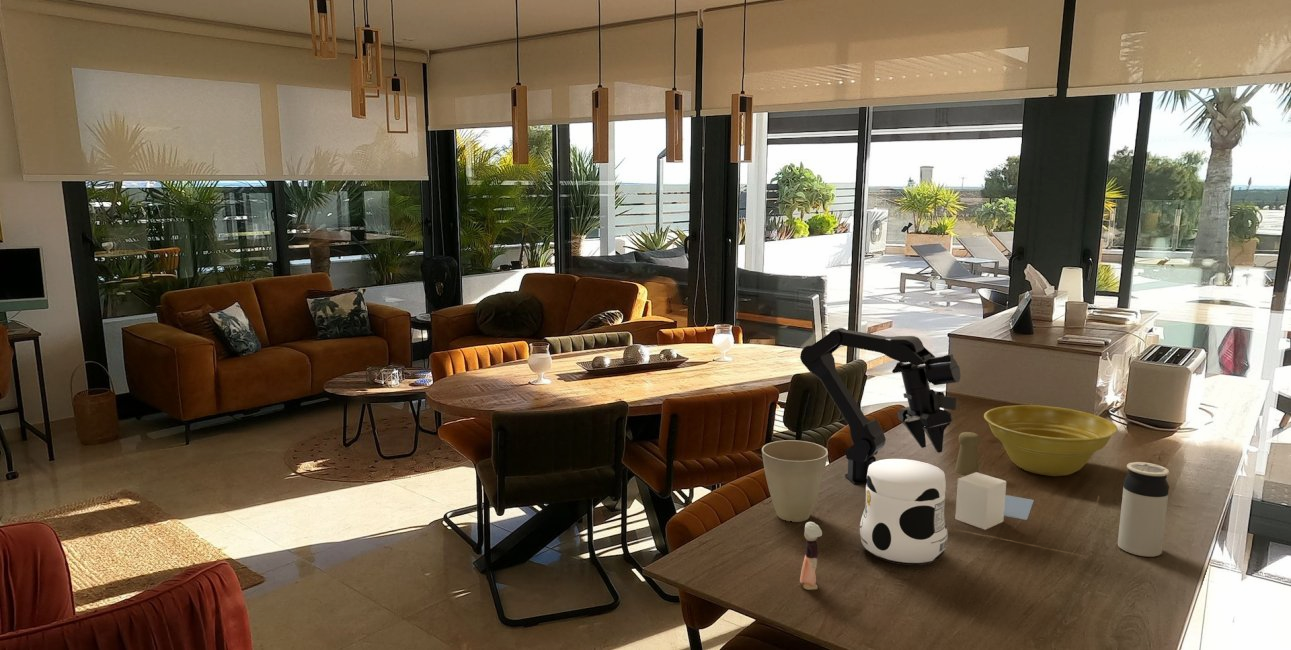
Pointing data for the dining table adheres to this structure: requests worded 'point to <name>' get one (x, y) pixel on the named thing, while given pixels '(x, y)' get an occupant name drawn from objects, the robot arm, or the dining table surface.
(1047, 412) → the planter bowl
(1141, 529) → the travel mug
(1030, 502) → the mat
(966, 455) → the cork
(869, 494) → the milk container
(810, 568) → the grandmother figurine
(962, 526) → the dining table surface
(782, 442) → the plant pot
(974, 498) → the white rectangular block
